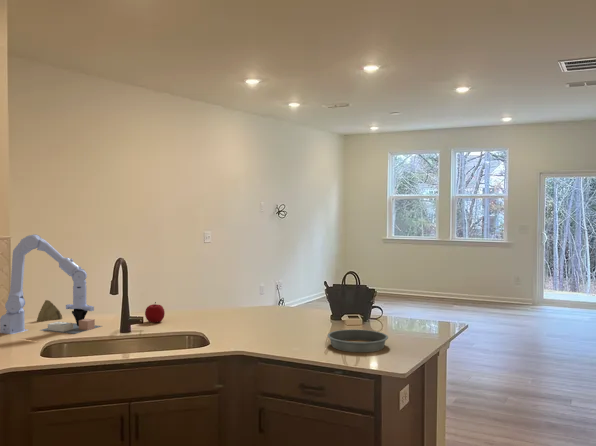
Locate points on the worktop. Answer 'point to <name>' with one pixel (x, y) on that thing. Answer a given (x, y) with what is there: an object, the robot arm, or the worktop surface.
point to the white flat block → (60, 326)
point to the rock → (49, 312)
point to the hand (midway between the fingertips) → (79, 325)
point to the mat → (72, 331)
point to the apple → (154, 313)
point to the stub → (86, 324)
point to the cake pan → (354, 334)
